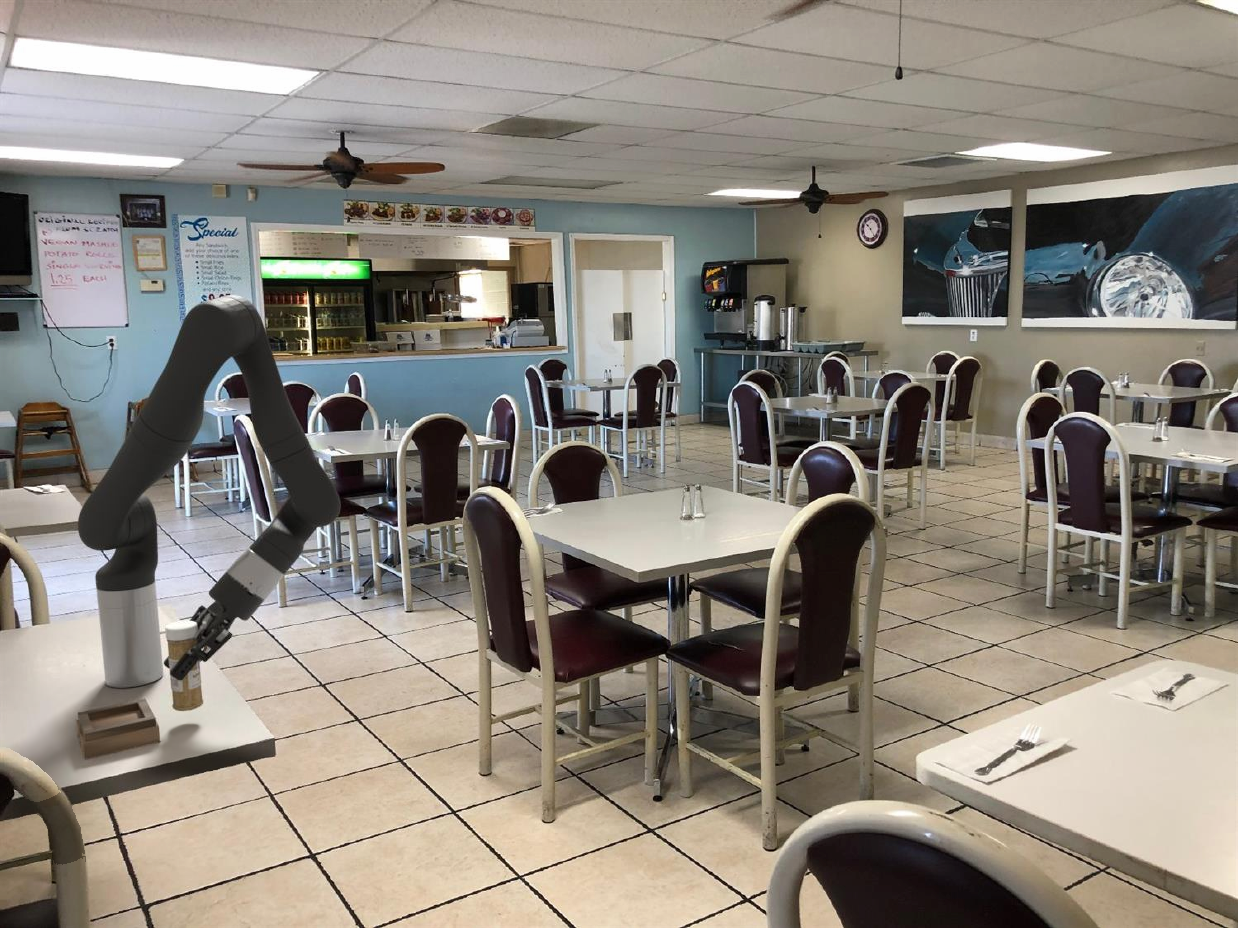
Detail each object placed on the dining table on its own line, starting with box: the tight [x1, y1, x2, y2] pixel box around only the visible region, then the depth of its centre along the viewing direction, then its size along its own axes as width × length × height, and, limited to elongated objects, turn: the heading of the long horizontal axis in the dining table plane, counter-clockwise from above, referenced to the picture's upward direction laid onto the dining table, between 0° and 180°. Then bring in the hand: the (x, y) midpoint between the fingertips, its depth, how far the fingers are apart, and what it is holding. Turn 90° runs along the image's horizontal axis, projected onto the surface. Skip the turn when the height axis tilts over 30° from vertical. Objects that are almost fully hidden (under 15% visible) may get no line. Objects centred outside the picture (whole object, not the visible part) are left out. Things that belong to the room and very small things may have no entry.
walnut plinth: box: [75, 698, 161, 760], centre depth 148 cm, size 10×10×4 cm
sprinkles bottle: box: [165, 620, 204, 712], centre depth 153 cm, size 5×5×14 cm
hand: (171, 672), depth 151 cm, fingers closed on sprinkles bottle, 4 cm apart
